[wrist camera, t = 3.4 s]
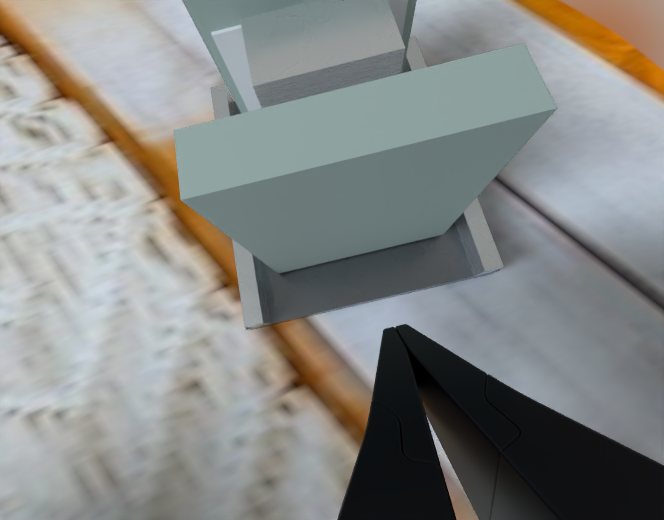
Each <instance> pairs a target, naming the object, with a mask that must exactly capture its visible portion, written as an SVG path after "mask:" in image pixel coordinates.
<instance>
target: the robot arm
mask: <svg viewBox="0 0 664 520" xmlns="http://www.w3.org/2000/svg"><path fill="white" fill-rule="evenodd" d="M426 415H427V417H428V419H429V421H430V423H431V425H432V427H433V429H434V431H435V433H436V435H437V437H438V439H439V441H440V443H441V445H442V447H443V449H444V451H445V453H446V455H447V457H448V459H449V461H450V463H451V465H452V467H453V469H454V471H455V473H456V475H457V477H458V479H459V481H460V483H461V485H462V487H463V489H464V491H465V493H466V495H467V497H468V498H469V500H470V502H471V504H472V506H473V508H474V510H475V512H476V514H477V516H478V518H479V520H664V465H662V464H660V463H658V462H656V461H654V460H652V459H650V458H648V457H646V456H644V455H642V454H640V453H638V452H636V451H634V450H632V449H630V448H628V447H626V446H624V445H622V444H620V443H618V442H616V441H614V440H612V439H610V438H608V437H606V436H604V435H602V434H600V433H598V432H596V431H594V430H592V429H590V428H588V427H586V426H584V425H582V424H580V423H578V422H576V421H574V420H572V419H570V418H568V417H566V416H564V415H562V414H561V413H559V412H557V411H555V410H553V409H551V408H549V407H547V406H545V405H543V404H541V403H539V402H537V401H535V400H533V399H531V398H529V397H527V396H525V395H523V394H522V393H520V392H518V391H516V390H514V389H513V388H511V387H509V386H507V385H506V384H504V383H502V382H500V381H499V380H497V379H496V378H494V377H492V376H491V375H487V374H486V373H485V372H483V371H482V370H480V369H479V368H477V367H475V366H474V365H472V364H470V363H469V362H467V361H466V360H464V359H462V358H461V357H459V356H457V355H456V354H454V353H452V352H451V351H449V350H448V349H446V348H444V347H443V346H441V345H439V344H438V343H436V342H435V341H433V340H431V339H430V338H428V337H426V336H425V335H423V334H422V333H420V332H418V331H417V330H415V329H413V328H412V327H410V326H408V325H406V324H404V325H400V326H396V327H395V328H394V327H391V328H387V329H384V330H383V335H382V341H381V347H380V353H379V359H378V366H377V372H376V378H375V384H374V390H373V396H372V402H371V407H370V413H369V418H368V423H367V427H366V431H365V434H364V438H363V441H362V445H361V448H360V451H359V454H358V457H357V460H356V463H355V466H354V469H353V472H352V476H351V479H350V482H349V485H348V488H347V491H346V494H345V497H344V500H343V503H342V507H341V510H340V513H339V516H338V519H337V520H456V516H455V513H454V509H453V506H452V503H451V499H450V496H449V492H448V489H447V485H446V482H445V478H444V475H443V472H442V468H441V466H440V461H439V458H438V455H437V451H436V448H435V444H434V441H433V437H432V434H431V430H430V427H429V423H428V420H427V417H426Z"/></svg>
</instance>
